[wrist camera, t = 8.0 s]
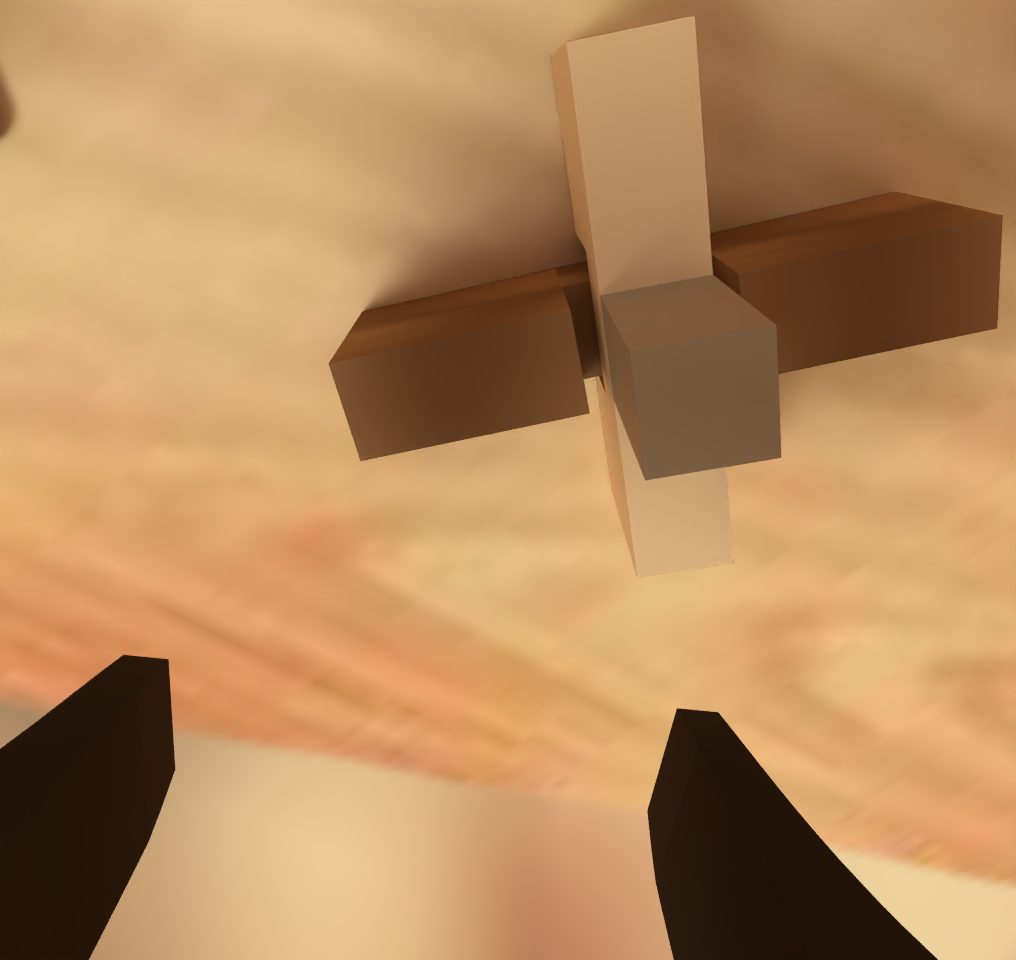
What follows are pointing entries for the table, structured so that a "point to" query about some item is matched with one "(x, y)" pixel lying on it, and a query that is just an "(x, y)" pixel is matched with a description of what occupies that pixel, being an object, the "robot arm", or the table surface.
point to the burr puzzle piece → (662, 296)
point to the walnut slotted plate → (735, 261)
